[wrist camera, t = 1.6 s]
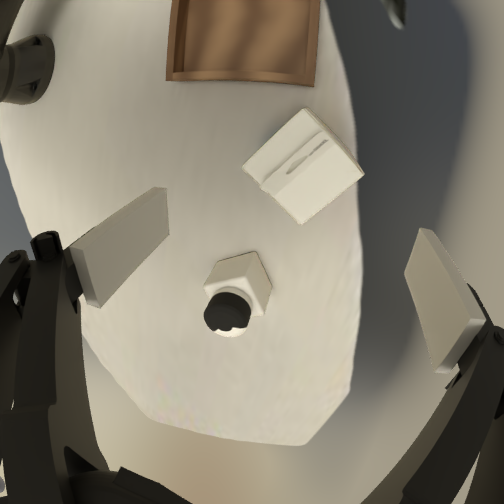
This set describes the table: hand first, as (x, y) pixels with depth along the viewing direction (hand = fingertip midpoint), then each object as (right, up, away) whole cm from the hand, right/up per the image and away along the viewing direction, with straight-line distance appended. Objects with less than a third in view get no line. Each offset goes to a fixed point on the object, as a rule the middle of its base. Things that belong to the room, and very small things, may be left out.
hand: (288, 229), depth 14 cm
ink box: (+5, +12, +21) cm, 25 cm away
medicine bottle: (-3, -5, +33) cm, 34 cm away
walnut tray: (-2, +27, +14) cm, 31 cm away
